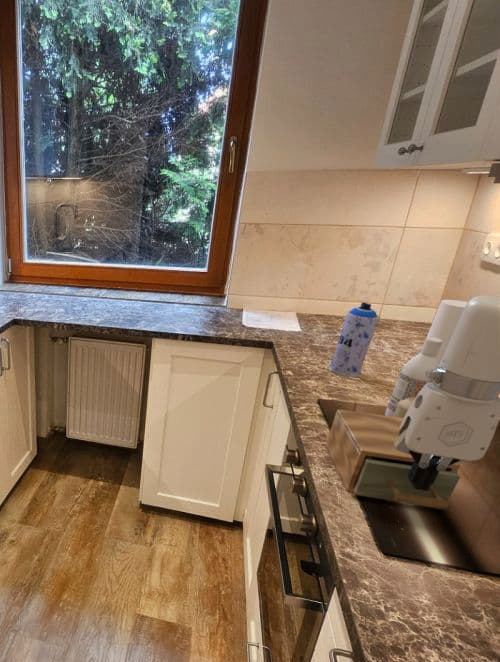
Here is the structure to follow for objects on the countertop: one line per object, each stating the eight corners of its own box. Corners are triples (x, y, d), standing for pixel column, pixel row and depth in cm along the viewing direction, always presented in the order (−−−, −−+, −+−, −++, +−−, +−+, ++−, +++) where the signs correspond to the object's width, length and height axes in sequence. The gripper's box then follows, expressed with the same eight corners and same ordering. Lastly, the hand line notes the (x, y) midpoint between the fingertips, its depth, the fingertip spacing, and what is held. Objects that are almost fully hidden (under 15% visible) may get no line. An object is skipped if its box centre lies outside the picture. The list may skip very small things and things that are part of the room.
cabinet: (439, 506, 82) (460, 465, 78) (346, 490, 86) (361, 450, 82) (404, 457, 96) (420, 420, 92) (325, 445, 99) (337, 409, 95)
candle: (381, 432, 105) (397, 392, 100) (409, 436, 103) (427, 396, 99) (389, 445, 100) (406, 403, 96) (419, 450, 99) (438, 408, 94)
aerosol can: (322, 367, 138) (343, 300, 129) (344, 365, 140) (366, 299, 131) (343, 377, 131) (367, 308, 123) (366, 375, 133) (391, 306, 124)
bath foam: (401, 428, 107) (436, 345, 98) (376, 413, 113) (407, 334, 104) (426, 426, 108) (463, 344, 99) (400, 411, 114) (432, 333, 105)
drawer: (460, 532, 75) (479, 498, 72) (365, 515, 78) (379, 482, 75) (409, 462, 93) (422, 432, 90) (333, 451, 96) (344, 421, 93)
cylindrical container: (444, 404, 118) (488, 307, 107) (419, 406, 117) (461, 308, 106) (420, 392, 124) (459, 299, 113) (396, 393, 123) (433, 300, 112)
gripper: (418, 386, 66) (373, 490, 74) (545, 402, 63) (483, 509, 71) (398, 366, 73) (359, 464, 81) (512, 380, 70) (459, 480, 78)
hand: (417, 485), depth 76 cm, fingers closed
